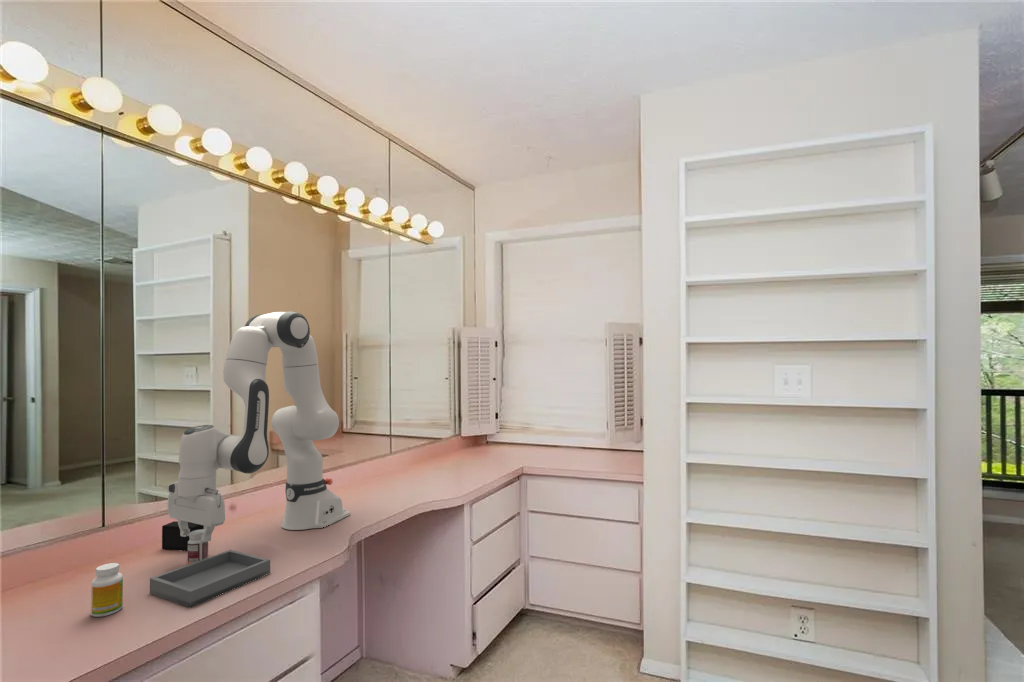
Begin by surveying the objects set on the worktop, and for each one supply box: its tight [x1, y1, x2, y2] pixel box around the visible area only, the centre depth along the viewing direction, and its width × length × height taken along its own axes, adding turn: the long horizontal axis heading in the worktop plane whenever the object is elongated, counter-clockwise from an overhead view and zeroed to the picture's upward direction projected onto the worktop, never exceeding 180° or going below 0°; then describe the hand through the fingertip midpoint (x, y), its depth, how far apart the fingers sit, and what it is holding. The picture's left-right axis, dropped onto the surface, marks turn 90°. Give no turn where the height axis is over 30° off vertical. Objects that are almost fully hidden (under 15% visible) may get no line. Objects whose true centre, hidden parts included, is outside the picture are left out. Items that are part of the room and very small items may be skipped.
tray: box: [149, 549, 271, 608], centre depth 125 cm, size 20×16×4 cm
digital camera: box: [161, 520, 204, 552], centre depth 150 cm, size 10×5×7 cm, turn 81°
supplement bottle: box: [90, 562, 124, 618], centre depth 111 cm, size 5×5×10 cm
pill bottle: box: [187, 529, 209, 565], centre depth 138 cm, size 5×5×8 cm
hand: (195, 538), depth 137 cm, fingers open, 8 cm apart
